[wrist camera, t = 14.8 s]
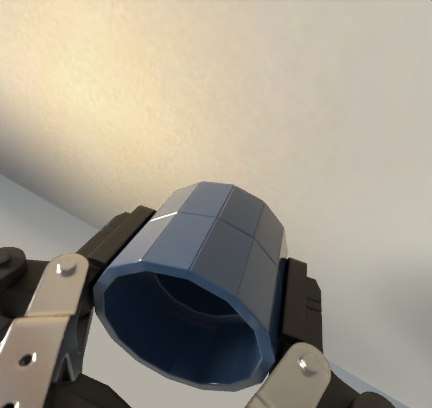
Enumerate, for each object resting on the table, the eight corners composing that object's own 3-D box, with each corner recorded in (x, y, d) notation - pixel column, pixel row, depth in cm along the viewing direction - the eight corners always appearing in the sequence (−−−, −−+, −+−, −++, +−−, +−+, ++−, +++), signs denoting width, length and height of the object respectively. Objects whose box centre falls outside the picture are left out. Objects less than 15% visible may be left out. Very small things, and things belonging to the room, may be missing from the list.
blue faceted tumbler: (161, 256, 15) (98, 348, 11) (172, 157, 12) (85, 231, 7) (265, 295, 14) (243, 412, 10) (309, 200, 11) (306, 313, 6)
